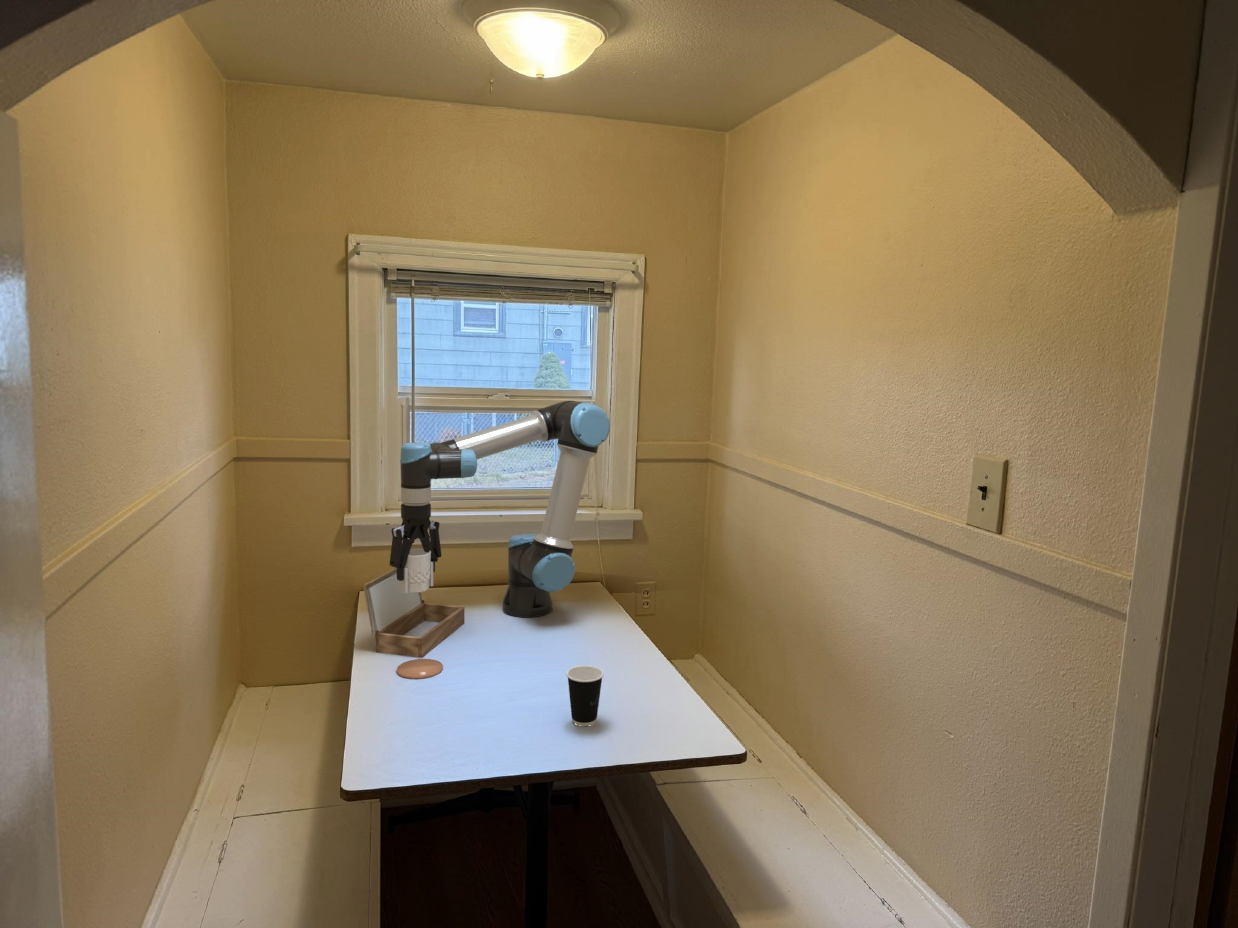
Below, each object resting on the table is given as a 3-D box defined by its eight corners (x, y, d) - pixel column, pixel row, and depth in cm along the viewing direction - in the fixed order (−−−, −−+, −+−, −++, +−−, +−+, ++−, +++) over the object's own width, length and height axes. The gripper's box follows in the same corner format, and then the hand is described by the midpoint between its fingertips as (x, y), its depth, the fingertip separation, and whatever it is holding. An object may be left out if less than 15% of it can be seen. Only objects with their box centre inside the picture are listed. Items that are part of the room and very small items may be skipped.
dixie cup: (565, 713, 173) (565, 665, 172) (601, 712, 174) (602, 664, 172) (566, 730, 165) (566, 680, 164) (604, 729, 166) (605, 680, 165)
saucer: (450, 663, 198) (450, 661, 198) (430, 681, 188) (430, 678, 188) (410, 658, 201) (410, 656, 201) (388, 676, 190) (388, 673, 190)
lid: (414, 558, 228) (411, 559, 228) (366, 584, 202) (363, 585, 203) (422, 602, 229) (419, 602, 229) (375, 633, 204) (372, 633, 204)
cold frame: (464, 623, 227) (464, 604, 226) (422, 657, 202) (421, 635, 201) (422, 619, 230) (422, 599, 229) (375, 652, 205) (375, 630, 204)
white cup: (404, 595, 203) (403, 557, 201) (397, 586, 210) (396, 549, 208) (434, 591, 207) (434, 554, 205) (426, 583, 213) (426, 547, 212)
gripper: (437, 495, 215) (437, 577, 218) (373, 506, 199) (374, 594, 202) (456, 499, 210) (455, 583, 214) (392, 510, 194) (392, 600, 197)
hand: (416, 588), depth 208 cm, fingers closed on white cup, 8 cm apart
